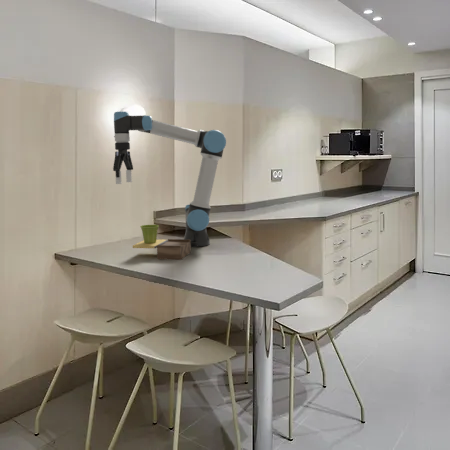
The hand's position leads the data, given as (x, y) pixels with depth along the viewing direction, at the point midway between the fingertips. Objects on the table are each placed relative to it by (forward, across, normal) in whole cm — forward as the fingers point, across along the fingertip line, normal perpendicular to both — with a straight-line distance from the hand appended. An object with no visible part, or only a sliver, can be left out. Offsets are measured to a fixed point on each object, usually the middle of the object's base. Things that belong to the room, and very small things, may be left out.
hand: (124, 183), depth 262 cm
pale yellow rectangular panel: (+31, +7, +22) cm, 38 cm away
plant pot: (+30, +7, +16) cm, 35 cm away
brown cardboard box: (+37, +7, +29) cm, 47 cm away
